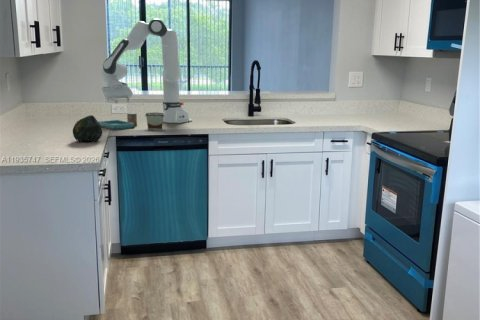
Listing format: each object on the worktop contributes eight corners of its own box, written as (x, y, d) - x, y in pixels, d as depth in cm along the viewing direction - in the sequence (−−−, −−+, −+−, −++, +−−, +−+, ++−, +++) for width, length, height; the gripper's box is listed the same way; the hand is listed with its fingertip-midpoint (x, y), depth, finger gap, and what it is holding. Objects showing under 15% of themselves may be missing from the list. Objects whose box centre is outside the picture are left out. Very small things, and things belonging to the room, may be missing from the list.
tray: (117, 124, 312) (117, 119, 311) (134, 128, 298) (133, 123, 298) (98, 126, 302) (98, 121, 302) (114, 130, 289) (114, 125, 288)
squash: (66, 129, 252) (74, 111, 243) (92, 128, 263) (100, 110, 254) (75, 149, 247) (84, 131, 238) (101, 147, 257) (110, 130, 248)
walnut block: (133, 124, 312) (132, 113, 310) (136, 125, 309) (136, 113, 307) (127, 125, 309) (127, 113, 307) (131, 126, 306) (130, 114, 304)
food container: (166, 127, 302) (166, 112, 300) (164, 129, 296) (164, 113, 294) (148, 127, 303) (148, 112, 301) (145, 128, 298) (145, 113, 295)
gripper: (102, 84, 308) (110, 100, 304) (129, 83, 322) (137, 98, 318) (99, 90, 312) (107, 106, 308) (125, 89, 326) (133, 104, 322)
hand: (122, 102), depth 313 cm, fingers open, 8 cm apart
